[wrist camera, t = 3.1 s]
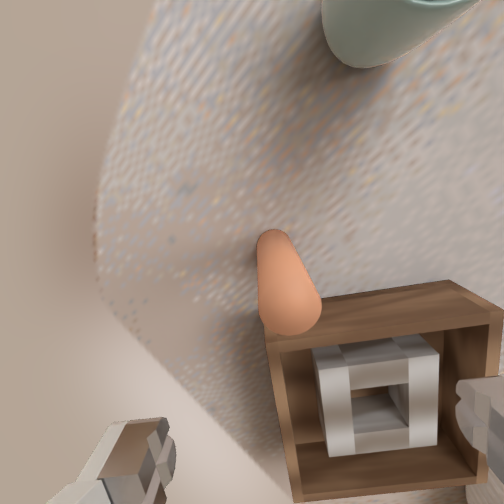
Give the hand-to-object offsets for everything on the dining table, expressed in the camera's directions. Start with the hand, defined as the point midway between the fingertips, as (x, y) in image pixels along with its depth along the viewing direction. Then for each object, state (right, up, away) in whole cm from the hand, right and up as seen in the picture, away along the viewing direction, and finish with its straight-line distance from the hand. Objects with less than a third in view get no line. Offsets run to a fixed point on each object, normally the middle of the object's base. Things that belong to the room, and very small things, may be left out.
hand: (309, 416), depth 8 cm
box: (+10, -8, +21) cm, 25 cm away
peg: (0, +5, +18) cm, 18 cm away
